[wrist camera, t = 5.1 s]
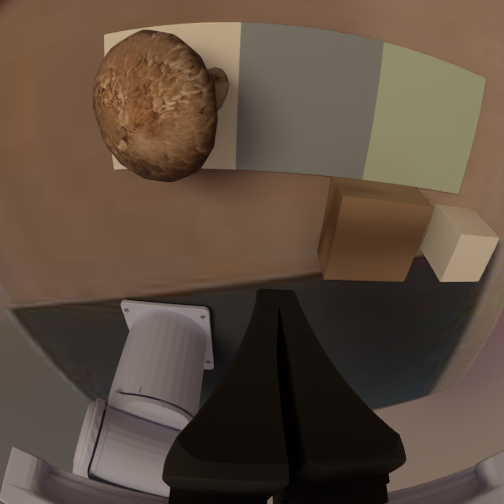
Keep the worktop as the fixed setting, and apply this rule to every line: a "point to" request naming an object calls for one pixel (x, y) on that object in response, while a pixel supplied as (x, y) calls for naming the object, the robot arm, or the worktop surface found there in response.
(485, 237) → the beige cube
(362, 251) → the plinth
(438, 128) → the board
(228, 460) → the robot arm
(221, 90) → the mushroom
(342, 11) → the worktop surface
